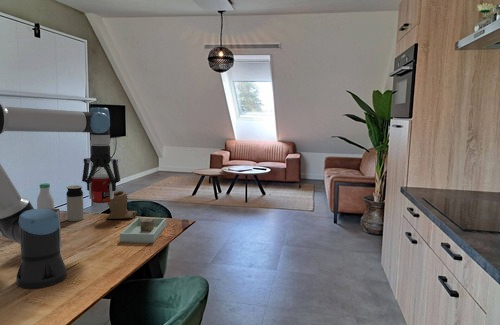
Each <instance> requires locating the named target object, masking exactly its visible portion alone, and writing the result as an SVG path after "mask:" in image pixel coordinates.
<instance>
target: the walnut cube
mask: <svg viewBox="0 0 500 325" xmlns="http://www.w3.org/2000/svg"><path fill="white" fill-rule="evenodd" d="M140 222H141V232H151V231H152V230H153V229H154V219H143V220H142V221H140Z"/></svg>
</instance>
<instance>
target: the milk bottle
mask: <svg viewBox="0 0 500 325" xmlns="http://www.w3.org/2000/svg"><path fill="white" fill-rule="evenodd" d="M50 187H51V184H50V183H40V184H39V189H40V190H39V194H38V196H37V200H36V209H55V200H54V196H53V194H52V193H51V190H50Z"/></svg>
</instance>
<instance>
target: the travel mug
mask: <svg viewBox="0 0 500 325" xmlns="http://www.w3.org/2000/svg"><path fill="white" fill-rule="evenodd" d="M82 188H83V185H79V184H78V185H77V184H73V185H69V186H66V189H67V192H66V193H65V194H66V213H67V214H66V215H67V221H68V222H69V221H70V222H78V221H82V220H84V219H85V215H84V214H85V212H84V210H85V209H84V191H83V190H82Z"/></svg>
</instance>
